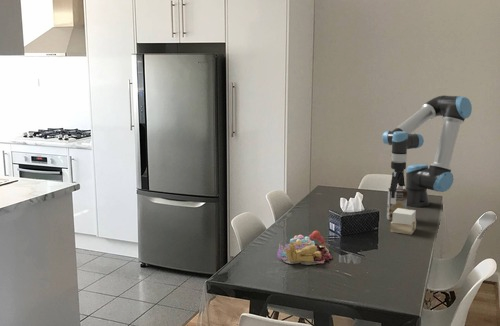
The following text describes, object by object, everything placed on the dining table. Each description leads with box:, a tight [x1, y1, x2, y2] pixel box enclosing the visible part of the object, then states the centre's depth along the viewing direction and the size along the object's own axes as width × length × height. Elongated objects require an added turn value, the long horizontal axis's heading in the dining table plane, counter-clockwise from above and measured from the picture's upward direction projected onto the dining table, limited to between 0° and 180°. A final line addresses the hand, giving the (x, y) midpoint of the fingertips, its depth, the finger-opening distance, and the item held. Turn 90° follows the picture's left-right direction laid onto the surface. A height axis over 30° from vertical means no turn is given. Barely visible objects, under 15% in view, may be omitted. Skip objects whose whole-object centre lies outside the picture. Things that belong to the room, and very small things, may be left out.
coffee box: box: [386, 187, 408, 221], centre depth 279 cm, size 9×6×16 cm
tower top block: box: [391, 208, 417, 225], centre depth 261 cm, size 9×9×5 cm
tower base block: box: [390, 219, 417, 236], centre depth 262 cm, size 10×10×5 cm
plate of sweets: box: [277, 230, 333, 266], centre depth 230 cm, size 25×24×9 cm
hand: (396, 200), depth 278 cm, fingers open, 13 cm apart
